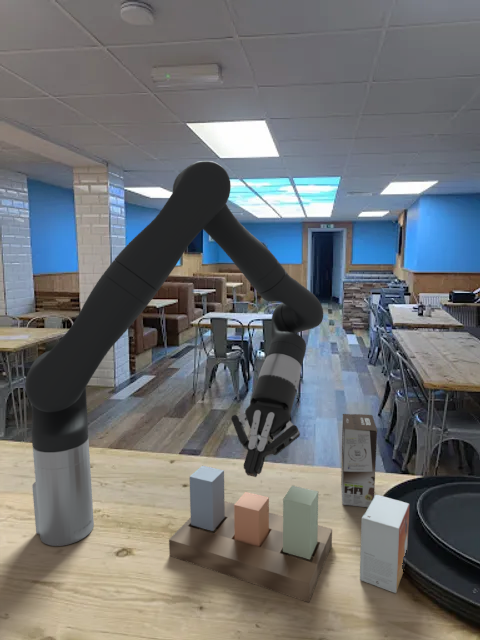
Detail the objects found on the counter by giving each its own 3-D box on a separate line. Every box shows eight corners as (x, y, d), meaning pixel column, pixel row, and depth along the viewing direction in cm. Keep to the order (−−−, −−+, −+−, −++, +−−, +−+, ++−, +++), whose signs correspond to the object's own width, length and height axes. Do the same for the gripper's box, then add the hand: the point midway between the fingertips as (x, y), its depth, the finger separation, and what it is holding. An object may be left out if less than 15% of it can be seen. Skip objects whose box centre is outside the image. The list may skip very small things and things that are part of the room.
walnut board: (169, 555, 73) (169, 539, 73) (210, 511, 86) (209, 497, 85) (308, 602, 63) (309, 583, 63) (331, 544, 76) (332, 528, 75)
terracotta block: (234, 554, 73) (234, 504, 72) (245, 539, 77) (245, 491, 76) (259, 562, 72) (258, 511, 70) (268, 545, 75) (268, 497, 74)
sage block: (282, 551, 69) (283, 498, 68) (291, 535, 73) (292, 485, 72) (309, 559, 68) (310, 505, 66) (317, 542, 71) (318, 491, 70)
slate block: (190, 524, 76) (189, 476, 75) (203, 511, 80) (202, 465, 79) (212, 531, 75) (212, 481, 73) (224, 517, 79) (223, 470, 77)
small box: (396, 595, 64) (399, 529, 63) (358, 580, 67) (360, 517, 66) (407, 563, 71) (410, 502, 70) (373, 551, 74) (375, 493, 72)
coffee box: (375, 508, 86) (378, 430, 84) (341, 505, 88) (343, 428, 85) (370, 485, 95) (373, 414, 93) (340, 482, 96) (342, 412, 94)
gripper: (239, 369, 82) (207, 458, 72) (308, 377, 76) (283, 475, 67) (250, 389, 87) (222, 474, 78) (315, 398, 82) (293, 491, 72)
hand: (250, 474), depth 72 cm, fingers closed
